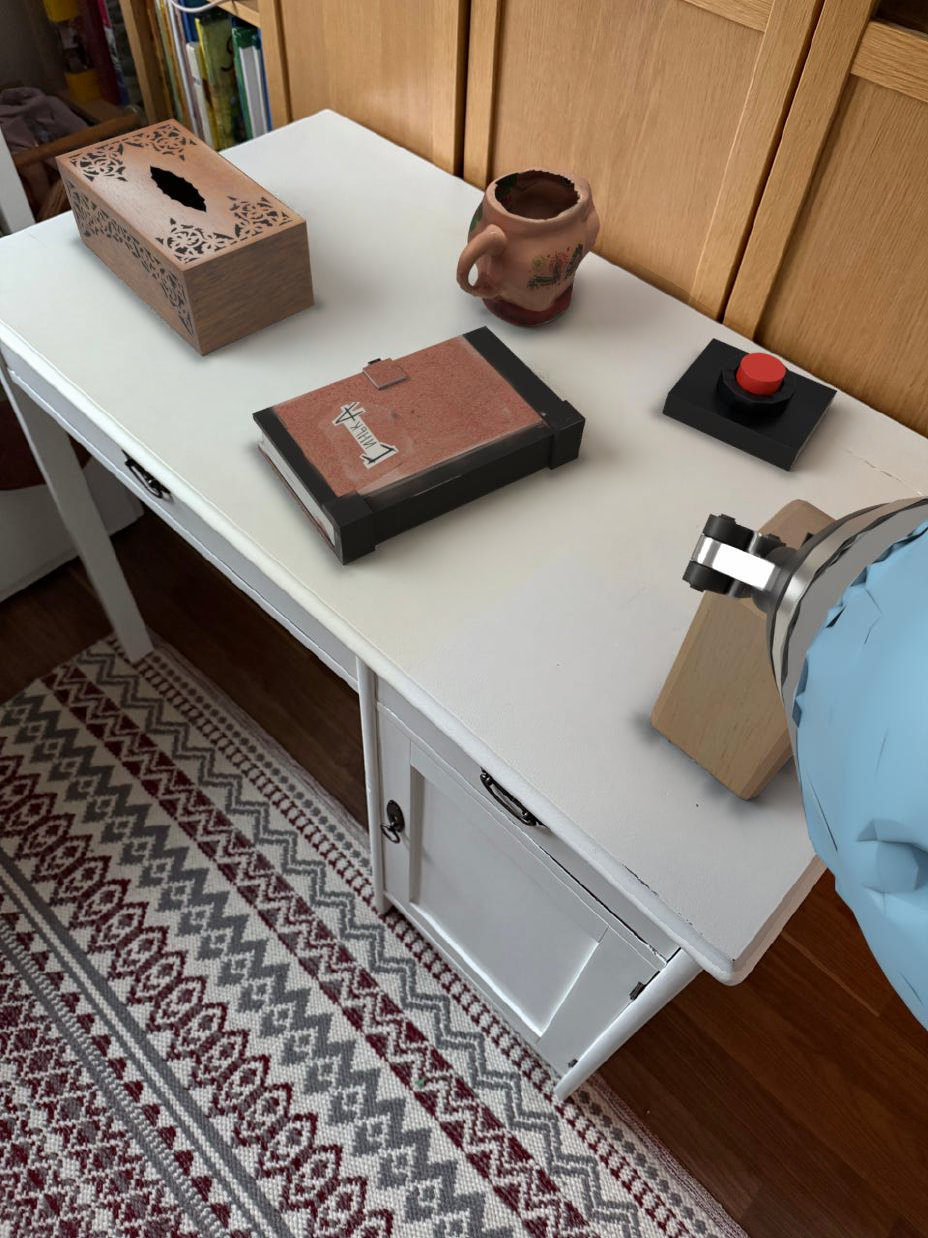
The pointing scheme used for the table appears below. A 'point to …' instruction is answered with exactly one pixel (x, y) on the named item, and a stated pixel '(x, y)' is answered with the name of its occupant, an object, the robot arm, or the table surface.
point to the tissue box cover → (189, 233)
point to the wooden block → (733, 680)
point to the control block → (748, 406)
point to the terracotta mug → (529, 243)
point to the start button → (760, 373)
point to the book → (415, 439)
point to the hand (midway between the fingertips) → (831, 587)
